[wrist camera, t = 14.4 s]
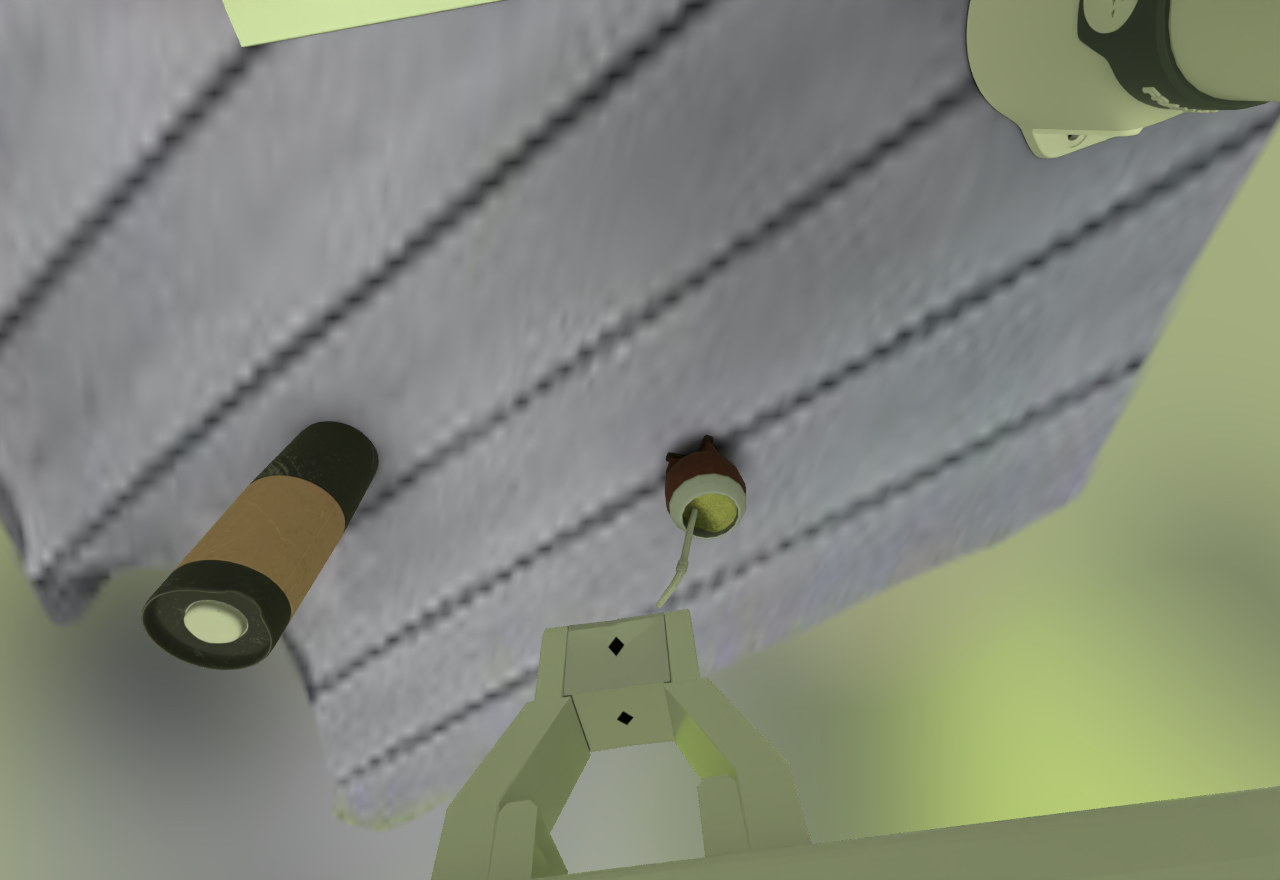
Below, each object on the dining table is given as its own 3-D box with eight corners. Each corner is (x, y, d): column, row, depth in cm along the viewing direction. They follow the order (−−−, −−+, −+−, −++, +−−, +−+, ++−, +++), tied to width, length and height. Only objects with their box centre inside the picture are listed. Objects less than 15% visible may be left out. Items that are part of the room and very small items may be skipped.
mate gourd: (745, 440, 54) (788, 551, 41) (715, 505, 57) (745, 625, 45) (670, 422, 52) (689, 531, 39) (644, 489, 56) (654, 608, 43)
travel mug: (302, 486, 54) (161, 670, 37) (284, 415, 50) (118, 585, 33) (386, 490, 55) (286, 673, 38) (376, 421, 51) (258, 590, 34)
